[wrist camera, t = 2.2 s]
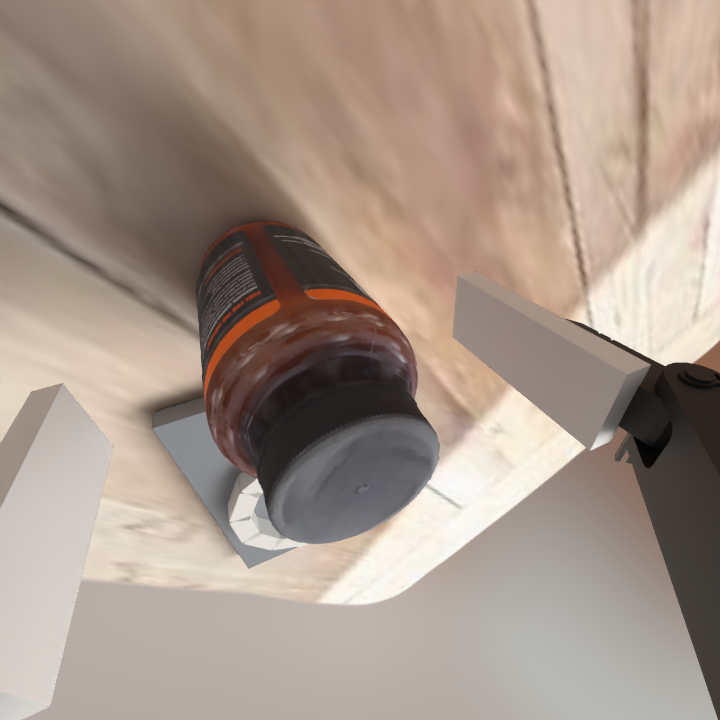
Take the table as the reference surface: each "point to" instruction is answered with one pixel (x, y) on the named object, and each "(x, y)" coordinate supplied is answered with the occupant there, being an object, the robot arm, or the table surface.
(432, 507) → the table surface
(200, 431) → the hub board
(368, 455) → the supplement bottle
